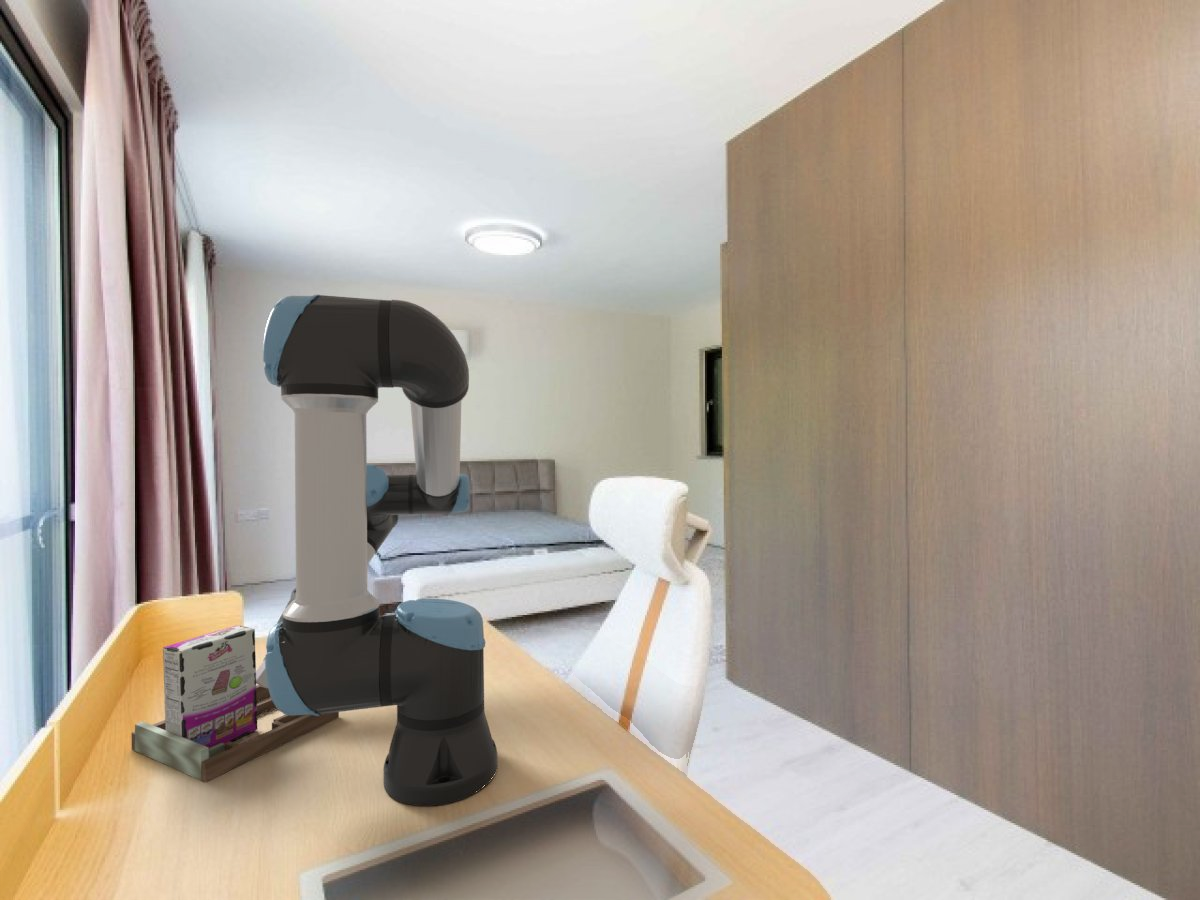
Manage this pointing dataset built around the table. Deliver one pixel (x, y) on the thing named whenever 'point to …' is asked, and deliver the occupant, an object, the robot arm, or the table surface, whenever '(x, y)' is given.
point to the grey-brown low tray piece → (221, 756)
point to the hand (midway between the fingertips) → (258, 683)
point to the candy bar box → (211, 686)
